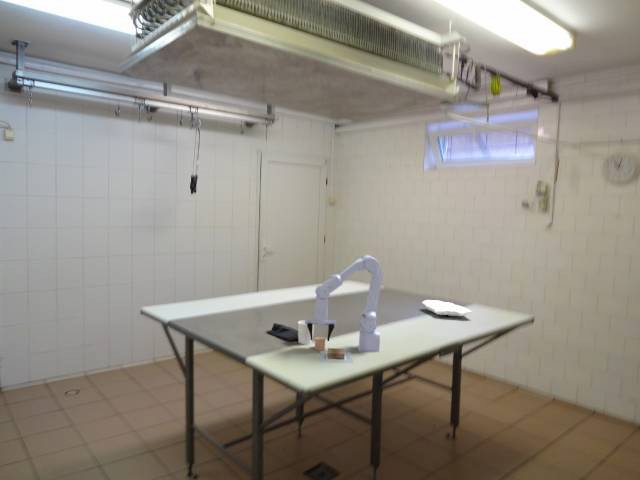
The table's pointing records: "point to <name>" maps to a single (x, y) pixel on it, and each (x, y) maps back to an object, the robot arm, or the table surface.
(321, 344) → the top block
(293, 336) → the dark slate chunk
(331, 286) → the robot arm
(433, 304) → the crumpled cloth
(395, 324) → the table surface
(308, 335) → the white cup
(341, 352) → the base block
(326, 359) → the blueprint board
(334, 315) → the table surface
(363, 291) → the table surface
